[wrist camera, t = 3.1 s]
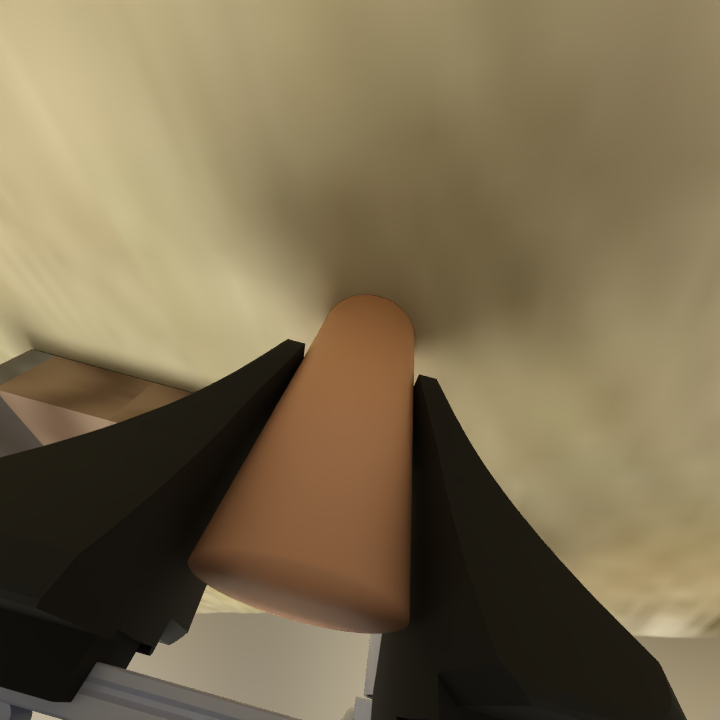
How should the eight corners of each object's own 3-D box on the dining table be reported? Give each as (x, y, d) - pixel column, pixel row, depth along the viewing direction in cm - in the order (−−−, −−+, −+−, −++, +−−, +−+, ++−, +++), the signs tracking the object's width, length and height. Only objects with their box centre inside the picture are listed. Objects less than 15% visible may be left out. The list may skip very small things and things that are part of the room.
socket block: (310, 425, 16) (254, 563, 11) (295, 530, 26) (262, 631, 20) (31, 349, 17) (-165, 445, 11) (119, 481, 26) (39, 568, 21)
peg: (428, 309, 11) (448, 603, 4) (398, 382, 13) (377, 644, 6) (330, 283, 11) (163, 523, 4) (319, 360, 13) (205, 595, 6)
